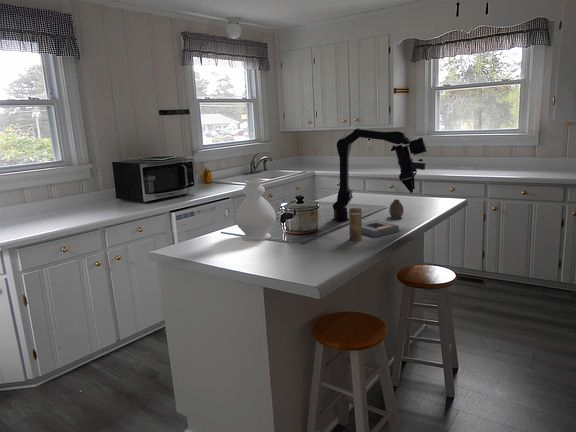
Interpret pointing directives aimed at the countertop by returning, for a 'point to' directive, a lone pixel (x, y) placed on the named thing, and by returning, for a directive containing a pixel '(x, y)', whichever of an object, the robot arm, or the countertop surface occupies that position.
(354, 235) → the walnut peg
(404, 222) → the countertop surface
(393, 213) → the vase
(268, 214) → the decorative vase
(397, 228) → the socket block
